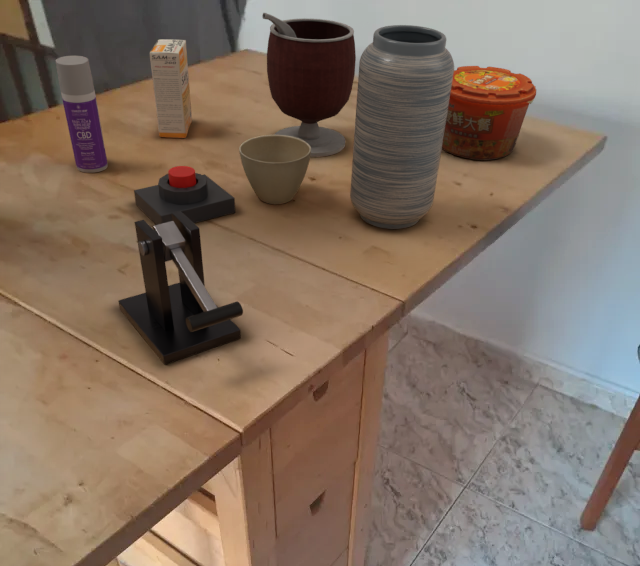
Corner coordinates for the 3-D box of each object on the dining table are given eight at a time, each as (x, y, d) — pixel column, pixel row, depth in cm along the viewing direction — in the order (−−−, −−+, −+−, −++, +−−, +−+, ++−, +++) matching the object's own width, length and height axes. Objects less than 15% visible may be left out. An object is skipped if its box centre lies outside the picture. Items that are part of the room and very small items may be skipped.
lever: (241, 321, 68) (244, 306, 66) (191, 338, 66) (193, 323, 64) (186, 233, 72) (188, 216, 70) (137, 246, 70) (137, 229, 67)
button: (176, 191, 92) (175, 178, 91) (165, 181, 94) (163, 169, 93) (200, 185, 94) (199, 173, 92) (189, 176, 96) (187, 163, 95)
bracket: (241, 338, 75) (236, 239, 66) (164, 365, 71) (149, 263, 63) (191, 287, 82) (181, 192, 74) (119, 309, 78) (100, 211, 70)
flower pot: (259, 177, 105) (257, 129, 100) (319, 190, 102) (321, 141, 98) (229, 204, 98) (226, 154, 93) (293, 218, 96) (294, 167, 91)
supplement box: (187, 139, 115) (179, 53, 106) (158, 137, 115) (148, 52, 106) (193, 121, 121) (186, 38, 112) (166, 120, 121) (157, 37, 112)
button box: (163, 231, 91) (159, 202, 89) (135, 205, 97) (131, 177, 94) (235, 212, 96) (234, 185, 93) (205, 188, 101) (203, 161, 99)
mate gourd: (319, 122, 123) (324, -7, 109) (366, 149, 115) (377, 12, 101) (244, 138, 116) (239, 2, 103) (288, 167, 108) (289, 24, 94)
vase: (344, 230, 94) (357, 43, 78) (353, 193, 102) (366, 18, 86) (429, 238, 93) (459, 51, 77) (431, 201, 101) (458, 25, 85)
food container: (438, 123, 125) (448, 59, 117) (527, 137, 121) (543, 72, 114) (418, 155, 114) (428, 86, 106) (515, 171, 110) (532, 101, 103)
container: (83, 175, 103) (61, 67, 93) (71, 164, 106) (49, 58, 96) (113, 168, 105) (94, 62, 95) (100, 158, 108) (81, 53, 98)
